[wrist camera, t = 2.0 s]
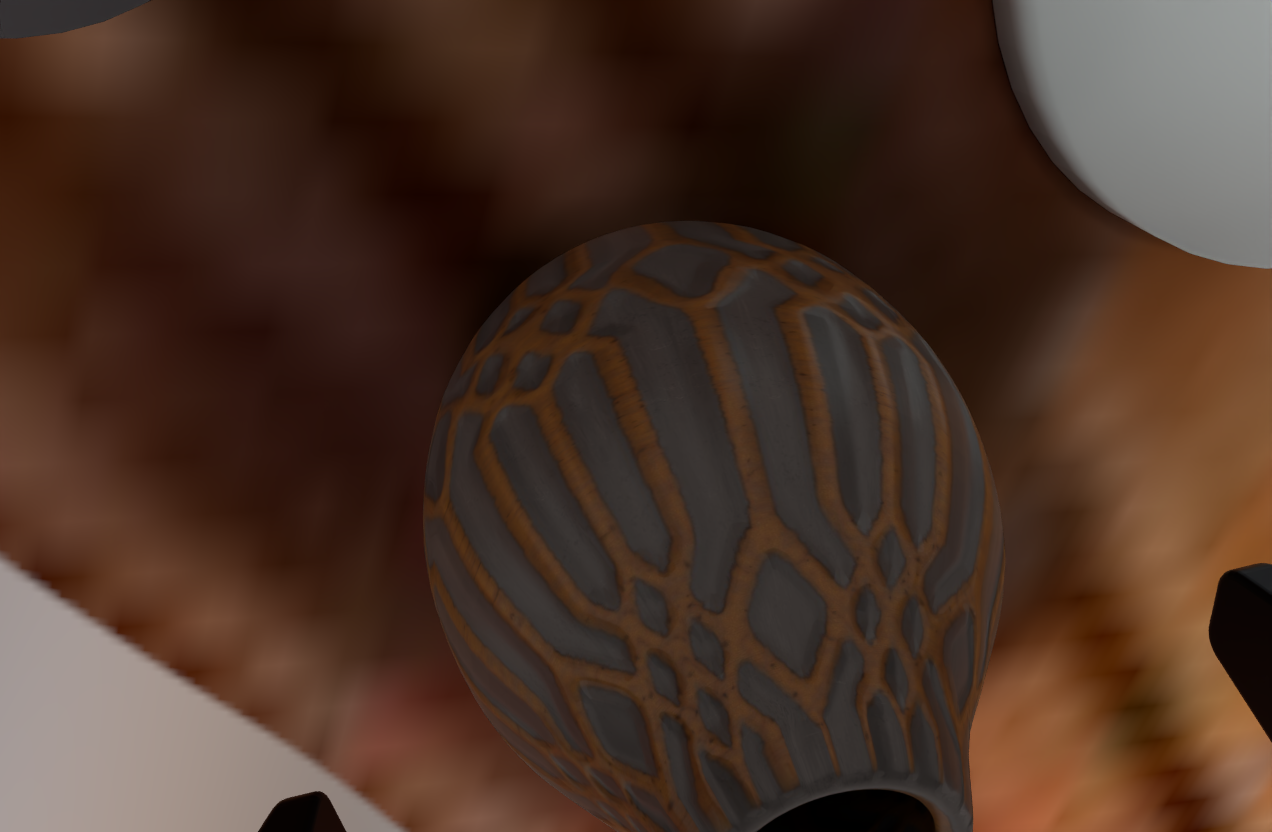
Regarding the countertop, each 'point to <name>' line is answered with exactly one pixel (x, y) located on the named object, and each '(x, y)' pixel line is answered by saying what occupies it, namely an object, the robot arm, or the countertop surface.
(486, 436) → the vase
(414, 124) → the countertop surface
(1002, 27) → the white round plate
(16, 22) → the balance
